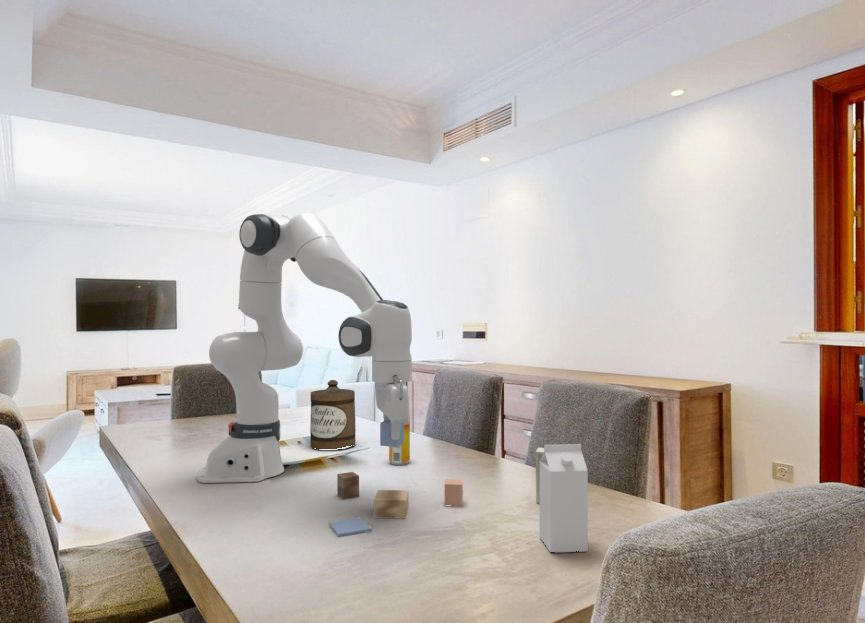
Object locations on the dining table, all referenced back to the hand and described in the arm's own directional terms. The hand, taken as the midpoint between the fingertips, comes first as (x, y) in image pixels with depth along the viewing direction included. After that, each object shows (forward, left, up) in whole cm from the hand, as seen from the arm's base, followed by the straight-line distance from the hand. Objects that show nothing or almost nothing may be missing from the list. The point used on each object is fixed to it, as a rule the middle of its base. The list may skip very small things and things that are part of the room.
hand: (391, 435), depth 124 cm
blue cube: (0, 0, -2) cm, 2 cm away
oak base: (0, 0, -17) cm, 17 cm away
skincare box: (+37, -3, -17) cm, 41 cm away
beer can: (+10, +40, -17) cm, 45 cm away
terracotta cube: (+15, +2, -17) cm, 23 cm away
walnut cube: (-8, +14, -17) cm, 23 cm away
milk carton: (+28, -26, -17) cm, 42 cm away
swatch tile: (-10, -7, -17) cm, 21 cm away
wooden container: (-7, +67, -17) cm, 69 cm away
